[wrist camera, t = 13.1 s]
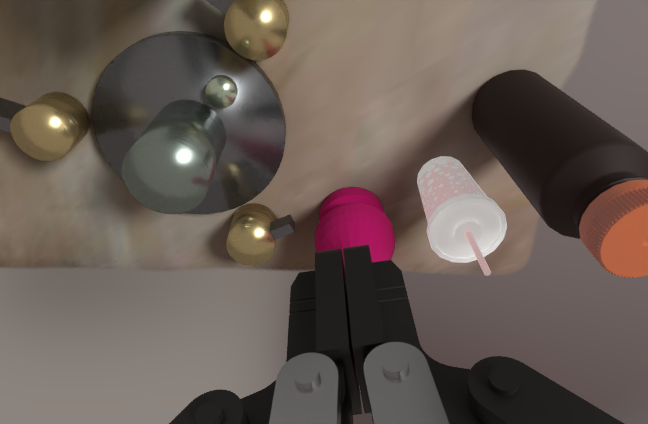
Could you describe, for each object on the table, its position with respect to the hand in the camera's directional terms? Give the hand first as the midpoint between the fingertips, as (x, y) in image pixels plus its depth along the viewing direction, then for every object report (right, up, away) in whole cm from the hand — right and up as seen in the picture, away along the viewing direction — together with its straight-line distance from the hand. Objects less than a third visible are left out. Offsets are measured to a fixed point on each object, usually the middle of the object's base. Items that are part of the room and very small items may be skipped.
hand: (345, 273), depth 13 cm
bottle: (+15, +11, +28) cm, 34 cm away
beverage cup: (+10, +5, +32) cm, 34 cm away
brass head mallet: (-27, +11, +26) cm, 40 cm away
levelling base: (-10, +10, +28) cm, 31 cm away
